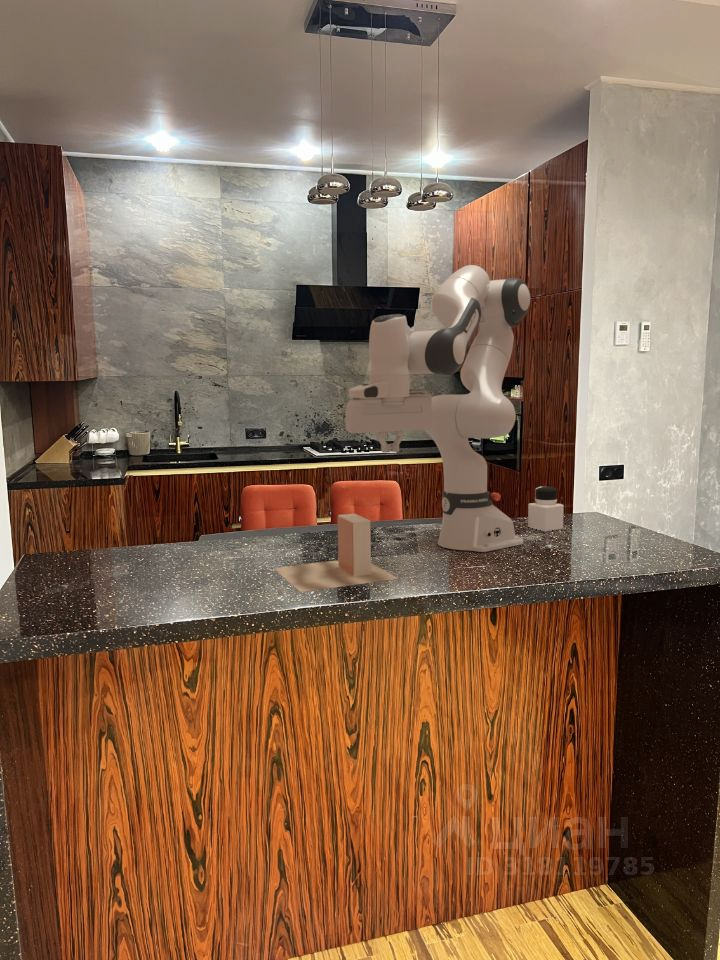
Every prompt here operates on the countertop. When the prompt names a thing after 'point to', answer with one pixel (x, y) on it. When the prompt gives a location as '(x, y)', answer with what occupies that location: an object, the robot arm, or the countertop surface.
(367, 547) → the block
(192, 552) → the countertop surface
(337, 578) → the cloth
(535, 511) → the medicine bottle
